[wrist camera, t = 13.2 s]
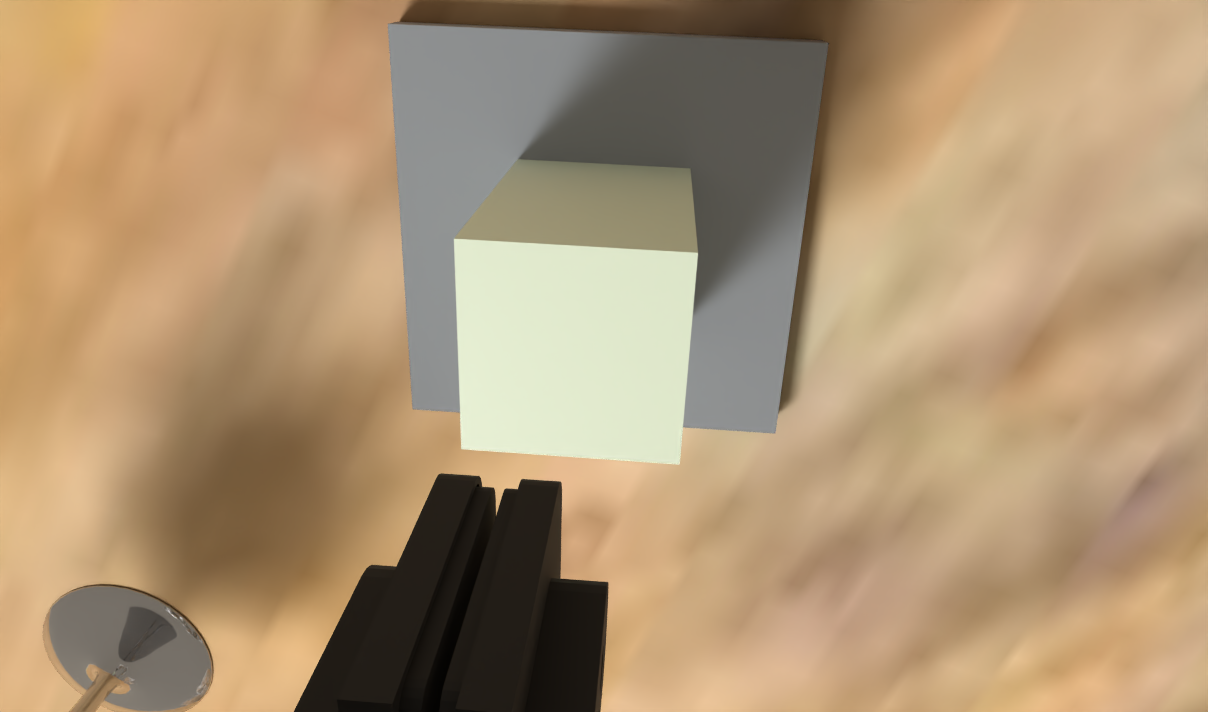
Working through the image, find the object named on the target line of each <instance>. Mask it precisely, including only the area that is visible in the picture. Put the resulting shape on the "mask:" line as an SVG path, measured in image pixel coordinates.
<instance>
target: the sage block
mask: <svg viewBox="0 0 1208 712" xmlns="http://www.w3.org/2000/svg"><path fill="white" fill-rule="evenodd" d="M454 257H455V285H456V312H457V340H458V367H459V395H460V423H461V449H467V450H481V451H495V452H509V453H523V454H537V455H552V456H566V457H580V458H594V459H608V460H622V461H636V462H651V463H665V464H679V465H680V455H681V443H682V432H683V420H684V409H685V397H686V386H687V374H688V363H689V351H690V340H691V328H692V317H693V305H694V294H695V282H696V271H697V259H698V247H697V236H696V224H695V213H694V202H693V191H692V180H691V169H690V168H674V167H655V166H636V165H617V164H599V163H580V162H561V161H542V160H524V159H517V161H516V162H515V163H514V164H513V166H512V167H511V168H510V169H509V171H508V172H507V173H506V174H505V176H504V177H503V178H502V179H501V181H500V182H499V183H498V184H497V186H496V187H495V188H494V189H493V191H492V192H491V193H490V194H489V196H488V197H487V198H486V199H485V200H484V202H483V203H482V204H481V205H480V207H479V208H478V209H477V210H476V212H475V213H474V214H473V215H472V217H471V218H470V219H469V220H468V222H467V223H466V224H465V225H464V227H463V228H462V229H461V230H460V232H459V233H458V234H457V235H456V237H455V238H454Z"/></svg>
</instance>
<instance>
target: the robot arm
mask: <svg viewBox="0 0 1208 712" xmlns="http://www.w3.org/2000/svg"><path fill="white" fill-rule="evenodd" d="M561 515H562V484H561V482H558V481H543V480H528V479H522V480H521V481H520V484H519V487H518V489H505V490H504V493H503V496H502V499H501V502H500V505H499V509H498V512H497V515H496V500H495V490H494V488H491V487H482V482H481V478H480V477H479V476H470V475H455V474H439V475H438V476H437V478H436V480H435V482H434V485H433V487H432V489H431V491H430V494H429V496H428V498H427V500H426V502H425V505H424V507H423V509H422V511H421V514H420V516H419V518H418V520H417V522H416V525H415V527H414V529H413V531H412V534H411V536H410V538H409V540H408V542H407V545H406V547H405V549H404V551H403V554H402V556H401V558H400V560H399V562H398V565H397V567H393V566H380V565H371V566H369V567H368V568H367V569H366V570H365V572H364V573H363V575H362V576H361V578H360V580H359V582H358V584H357V586H356V588H355V590H354V592H353V594H352V596H351V598H350V600H349V602H348V604H347V606H346V608H345V610H344V612H343V614H342V616H341V618H340V620H339V622H338V624H337V626H336V628H335V630H334V632H333V634H332V636H331V638H330V640H329V642H328V644H327V646H326V648H325V650H324V652H323V654H322V656H321V658H320V660H319V662H318V664H317V666H316V668H315V670H314V672H313V674H312V676H311V678H310V680H309V682H308V684H307V686H306V688H305V690H304V692H303V694H302V696H301V698H300V700H299V702H298V704H297V706H296V708H295V710H294V712H600V709H601V698H602V687H603V674H604V661H605V646H606V628H607V608H608V582H597V581H584V580H570V579H560V571H561Z"/></svg>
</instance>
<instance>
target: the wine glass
mask: <svg viewBox="0 0 1208 712" xmlns="http://www.w3.org/2000/svg"><path fill="white" fill-rule="evenodd" d="M43 640H44V646H45V649H46V652H47V654H48V657H49V659H50V661H51V662H52V664H53V666H54V667H55V669H56V670H57V672H58V673H59V674H60V675H61V676H62V678H63V679H64V680H65V681H66V682H67V683H68V684H69V685H70V686H71V687H73V688H74V689H75V690H76V691H77V692H79V693H80V694H82V695H83V696H82V697H81V698H80V699H79V700H78V702H77V703H76V704H75V705H74V706H73V707H72V709H71V710H70V711H69V712H96V710H97V709H98V708H99V706H102V707H104V708H107V709H109V710H112V711H114V712H185V711H187V710H189V709H191V708H192V707H194V706H195V705H196V704H197V703H199V702H200V701H201V700H202V699H203V697H204V696H205V695H206V694H207V692H208V690H209V687H210V685H211V682H212V676H213V667H212V660H211V656H210V653H209V650H208V648H207V646H206V644H205V642H204V640H203V638H202V637H201V636H200V634H199V633H198V631H197V630H196V629H195V627H194V626H193V625H192V624H191V623H190V622H189V621H188V620H187V619H186V618H185V617H184V616H182V615H181V614H180V613H179V612H177V611H176V610H175V609H173V608H172V607H170V606H169V605H167V604H165V603H164V602H162V601H160V600H159V599H157V598H154V597H152V596H150V595H147V594H145V593H143V592H139V591H136V590H133V589H129V588H125V587H118V586H112V585H95V586H88V587H82V588H79V589H76V590H73V591H70V592H69V593H67V594H65V595H63V596H62V597H60V598H59V599H58V600H57V601H56V602H55V603H54V604H53V605H52V606H51V608H50V609H49V611H48V613H47V615H46V618H45V621H44V624H43Z"/></svg>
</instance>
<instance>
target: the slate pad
mask: <svg viewBox="0 0 1208 712" xmlns="http://www.w3.org/2000/svg"><path fill="white" fill-rule="evenodd" d="M388 34H389V49H390V65H391V81H392V96H393V112H394V127H395V143H396V158H397V174H398V189H399V205H400V220H401V236H402V251H403V267H404V282H405V298H406V314H407V329H408V345H409V360H410V376H411V391H412V407H413V409H417V410H432V411H447V412H460V395H459V367H458V340H457V312H456V285H455V257H454V238H455V237H456V235H457V234H458V233H459V232H460V230H461V229H462V228H463V227H464V225H465V224H466V223H467V222H468V220H469V219H470V218H471V217H472V215H473V214H474V213H475V212H476V210H477V209H478V208H479V207H480V205H481V204H482V203H483V202H484V200H485V199H486V198H487V197H488V196H489V194H490V193H491V192H492V191H493V189H494V188H495V187H496V186H497V184H498V183H499V182H500V181H501V179H502V178H503V177H504V176H505V174H506V173H507V172H508V171H509V169H510V168H511V167H512V166H513V164H514V163H515V162H516V161H517V159H524V160H542V161H561V162H580V163H599V164H617V165H636V166H655V167H674V168H690V169H691V180H692V191H693V202H694V213H695V224H696V236H697V247H698V259H697V271H696V282H695V294H694V305H693V317H692V328H691V340H690V351H689V363H688V374H687V386H686V397H685V409H684V420H683V427H686V428H701V429H716V430H731V431H746V432H761V433H775V432H776V425H777V418H778V410H779V403H780V396H781V389H782V381H783V374H784V367H785V359H786V352H787V345H788V337H789V330H790V323H791V315H792V308H793V301H794V293H795V286H796V279H797V271H798V264H799V257H800V249H801V242H802V235H803V227H804V220H805V213H806V205H807V198H808V191H809V183H810V176H811V169H812V162H813V154H814V147H815V140H816V132H817V125H818V118H819V110H820V103H821V96H822V88H823V81H824V74H825V66H826V59H827V52H828V44H829V43H827V42H825V41H823V40H807V39H784V38H761V37H738V36H715V35H692V34H669V33H646V32H623V31H600V30H577V29H554V28H531V27H508V26H485V25H462V24H439V23H416V22H395V23H390V24H388Z"/></svg>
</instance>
